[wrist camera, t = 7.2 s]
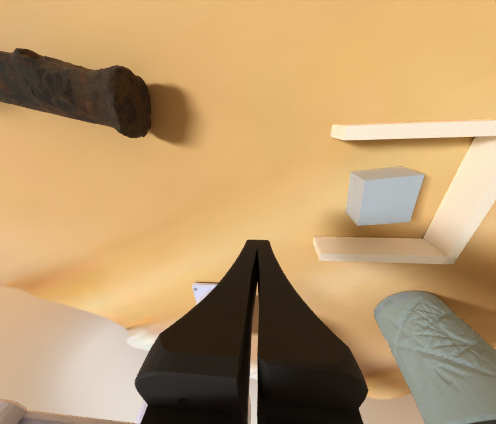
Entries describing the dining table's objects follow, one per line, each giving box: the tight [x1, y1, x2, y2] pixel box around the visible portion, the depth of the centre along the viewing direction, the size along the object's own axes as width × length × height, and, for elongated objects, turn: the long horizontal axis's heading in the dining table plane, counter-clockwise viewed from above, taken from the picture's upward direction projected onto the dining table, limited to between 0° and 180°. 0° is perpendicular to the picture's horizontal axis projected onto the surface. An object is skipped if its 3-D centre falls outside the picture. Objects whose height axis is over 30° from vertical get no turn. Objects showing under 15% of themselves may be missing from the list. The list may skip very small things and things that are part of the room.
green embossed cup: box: [374, 291, 496, 424], centre depth 20 cm, size 10×10×12 cm
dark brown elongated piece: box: [0, 48, 151, 138], centre depth 14 cm, size 23×5×6 cm, turn 76°
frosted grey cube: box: [346, 166, 425, 226], centre depth 17 cm, size 4×4×3 cm
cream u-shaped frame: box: [313, 119, 496, 264], centre depth 17 cm, size 13×13×3 cm
